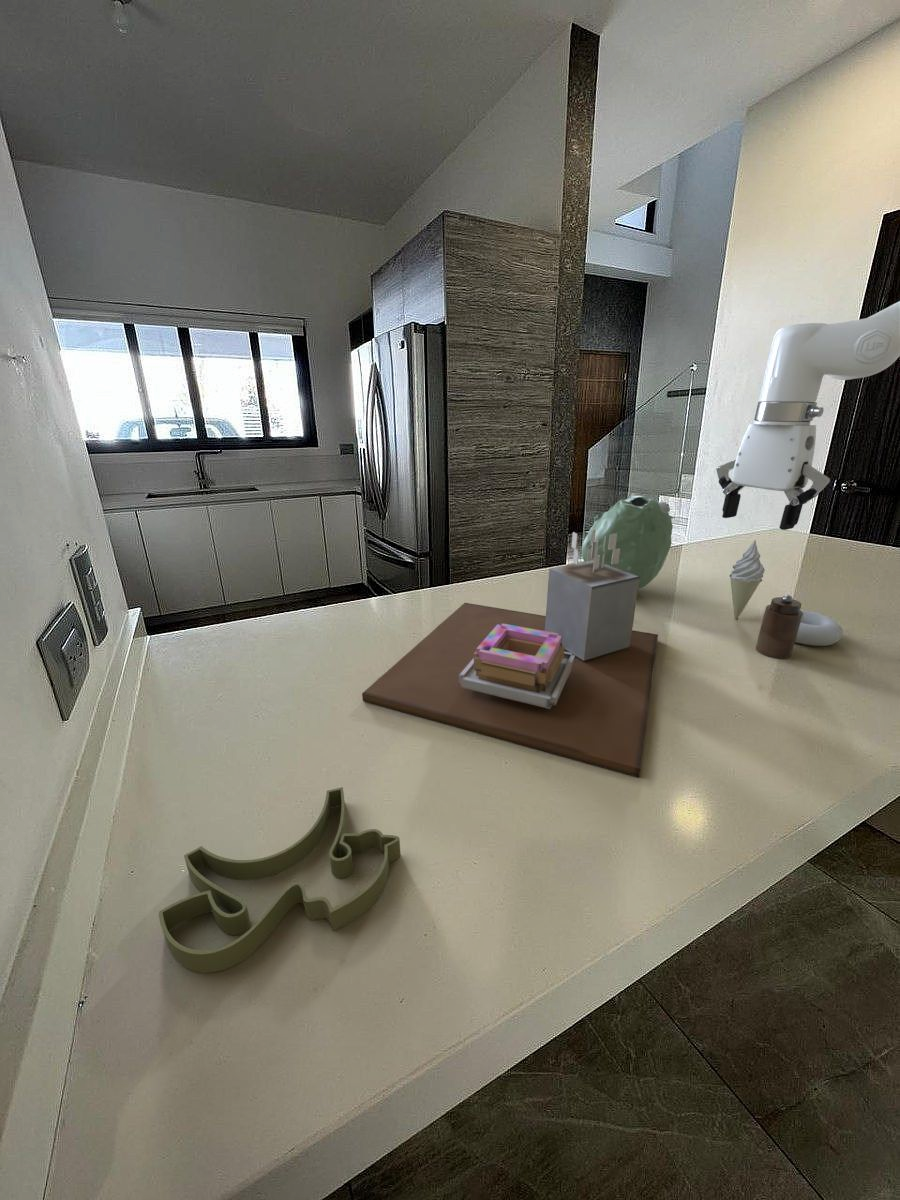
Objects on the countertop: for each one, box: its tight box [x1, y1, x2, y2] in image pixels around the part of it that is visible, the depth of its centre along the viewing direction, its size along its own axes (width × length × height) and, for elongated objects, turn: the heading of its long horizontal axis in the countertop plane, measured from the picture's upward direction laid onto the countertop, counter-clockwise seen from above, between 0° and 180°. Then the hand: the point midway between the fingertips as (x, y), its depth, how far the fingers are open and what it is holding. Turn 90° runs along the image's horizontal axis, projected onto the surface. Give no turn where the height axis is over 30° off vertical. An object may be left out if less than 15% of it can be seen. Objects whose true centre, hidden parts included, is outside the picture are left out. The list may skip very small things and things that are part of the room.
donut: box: [795, 609, 844, 647], centre depth 81 cm, size 10×4×10 cm
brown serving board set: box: [361, 529, 659, 778], centre depth 69 cm, size 35×35×19 cm
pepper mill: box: [755, 594, 803, 660], centre depth 74 cm, size 5×5×10 cm
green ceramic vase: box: [581, 492, 675, 590], centre depth 99 cm, size 16×19×20 cm
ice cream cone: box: [729, 539, 766, 620], centre depth 85 cm, size 5×5×15 cm
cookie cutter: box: [158, 786, 401, 974], centre depth 40 cm, size 18×12×2 cm, turn 123°
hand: (756, 522), depth 81 cm, fingers open, 9 cm apart
